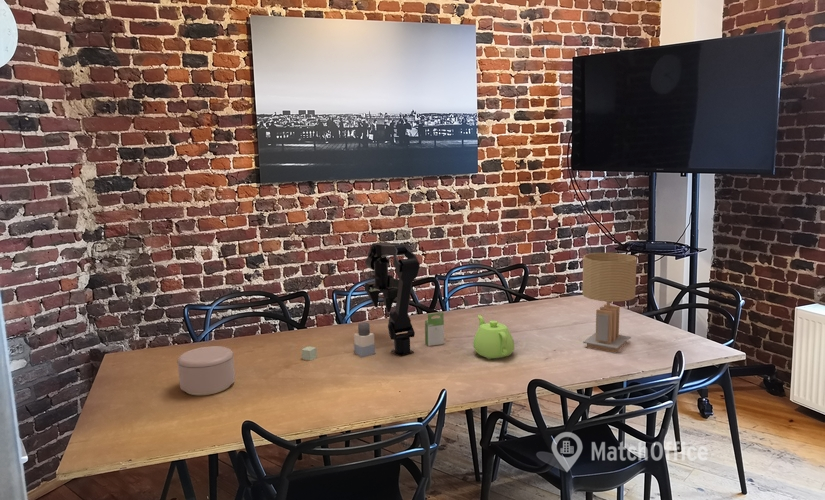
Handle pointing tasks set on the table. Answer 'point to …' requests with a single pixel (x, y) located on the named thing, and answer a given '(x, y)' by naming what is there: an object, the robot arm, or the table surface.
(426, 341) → the ink box
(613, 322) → the desk lamp
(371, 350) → the tower base
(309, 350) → the sage block
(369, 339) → the tower top
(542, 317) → the table surface
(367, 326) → the dark grey cylinder
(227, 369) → the container
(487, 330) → the teapot
